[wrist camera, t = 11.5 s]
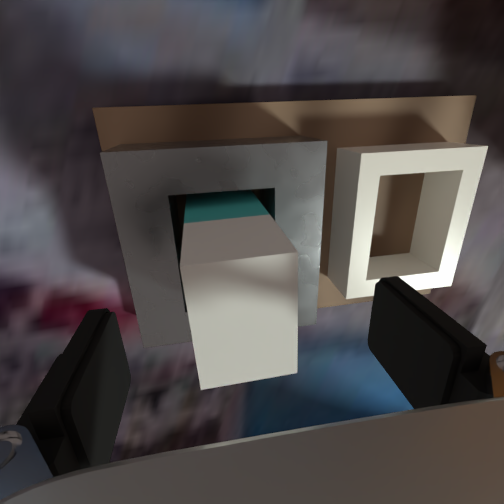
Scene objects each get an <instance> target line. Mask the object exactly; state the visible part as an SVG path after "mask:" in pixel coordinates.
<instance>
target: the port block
mask: <svg viewBox="0 0 504 504" xmlns="http://www.w3.org/2000/svg"><path fill="white" fill-rule="evenodd" d="M100 156H101V161H102V165H103V169H104V174H105V178H106V183H107V187H108V192H109V196H110V200H111V205H112V209H113V214H114V218H115V222H116V227H117V231H118V236H119V240H120V245H121V249H122V253H123V258H124V262H125V267H126V271H127V276H128V280H129V284H130V289H131V293H132V298H133V302H134V307H135V311H136V315H137V320H138V324H139V329H140V333H141V338H142V342H143V346H144V348H148V347H155V346H162V345H169V344H176V343H184V342H191V341H192V335H191V329H190V323H189V317H188V311H187V306H186V300H185V294H184V288H183V282H182V276H181V270H180V259H181V249H182V239H181V232H180V225H179V217H178V210H177V203H176V195H180V194H194V193H208V192H222V191H235V190H249V189H260V202H261V204H262V205H263V206H264V208H265V209H266V210H267V212H268V213H269V214H270V216H271V217H272V218H273V219H274V221H275V222H276V223H277V225H278V226H279V227H280V229H281V230H282V231H283V233H284V234H285V235H286V237H287V238H288V239H289V241H290V242H291V243H292V244H293V246H294V247H295V248H296V250H297V251H298V327H299V326H306V325H313V324H316V318H317V301H318V285H319V269H320V253H321V237H322V221H323V205H324V189H325V173H326V157H327V141H326V140H321V139H316V138H311V137H306V136H280V137H260V138H239V139H219V140H199V141H178V142H158V143H137V144H120V145H117V146H115V147H112V148H110V149H107V150H105V151H102V152H100Z"/></svg>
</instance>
